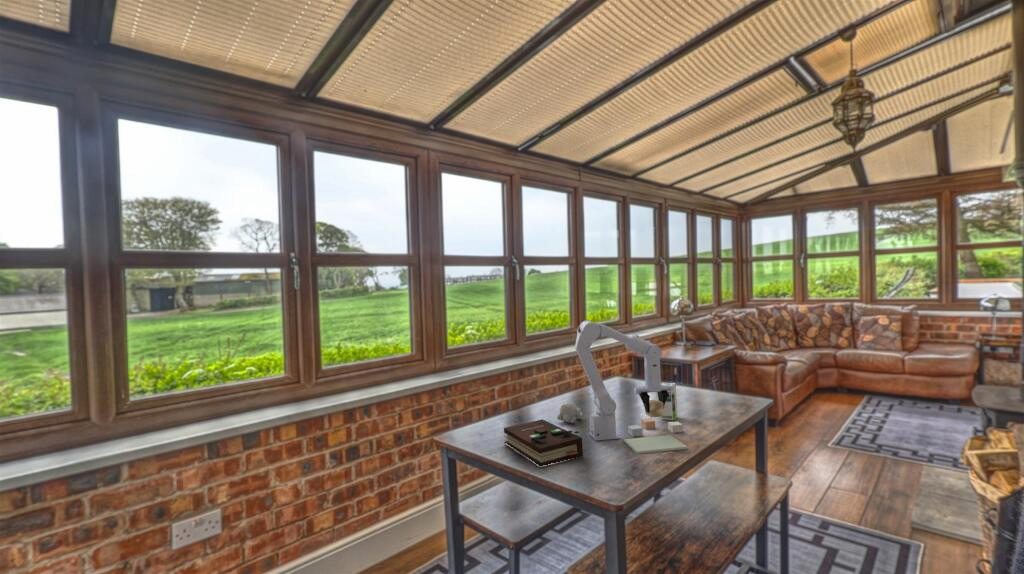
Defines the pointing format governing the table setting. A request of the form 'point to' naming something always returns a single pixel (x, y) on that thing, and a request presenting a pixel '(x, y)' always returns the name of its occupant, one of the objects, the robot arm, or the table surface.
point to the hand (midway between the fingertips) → (654, 411)
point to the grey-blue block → (635, 430)
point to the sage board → (654, 444)
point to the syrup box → (670, 404)
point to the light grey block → (675, 427)
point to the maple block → (655, 408)
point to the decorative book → (544, 442)
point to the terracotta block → (648, 423)
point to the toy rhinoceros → (569, 412)
